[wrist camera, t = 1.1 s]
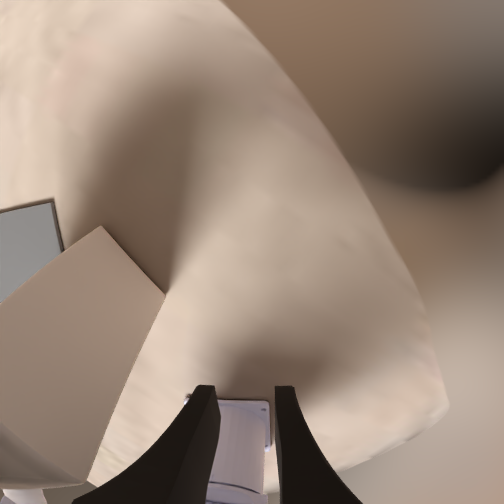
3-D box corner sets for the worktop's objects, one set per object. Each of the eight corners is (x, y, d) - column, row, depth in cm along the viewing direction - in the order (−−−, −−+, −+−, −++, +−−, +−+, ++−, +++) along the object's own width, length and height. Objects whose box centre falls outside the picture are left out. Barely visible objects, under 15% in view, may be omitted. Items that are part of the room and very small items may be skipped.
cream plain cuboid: (58, 275, 20) (-83, 442, 3) (102, 222, 19) (-106, 426, 1) (115, 335, 22) (23, 529, 5) (168, 294, 21) (64, 560, 3)
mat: (96, 349, 23) (94, 351, 23) (-11, 326, 25) (-13, 328, 24) (53, 201, 18) (50, 202, 18) (-44, 224, 20) (-46, 225, 20)
